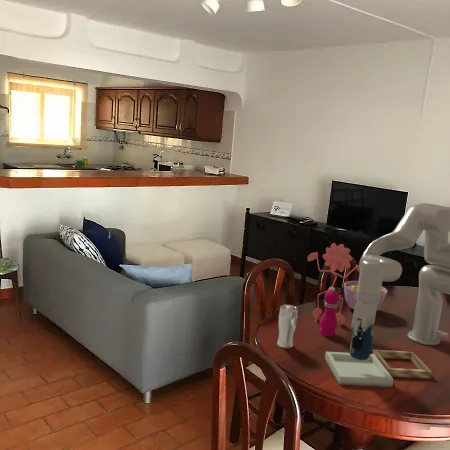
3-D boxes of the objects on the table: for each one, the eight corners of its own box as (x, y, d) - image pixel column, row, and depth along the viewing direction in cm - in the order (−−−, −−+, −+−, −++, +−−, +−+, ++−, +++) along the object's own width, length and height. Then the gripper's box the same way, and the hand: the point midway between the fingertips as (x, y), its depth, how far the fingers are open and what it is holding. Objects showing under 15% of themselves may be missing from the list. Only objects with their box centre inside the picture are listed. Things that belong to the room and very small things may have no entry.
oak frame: (411, 357, 183) (412, 351, 182) (430, 378, 168) (431, 371, 167) (371, 355, 182) (372, 349, 181) (387, 376, 166) (388, 369, 166)
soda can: (373, 358, 166) (378, 325, 164) (362, 363, 161) (368, 329, 159) (355, 350, 171) (360, 318, 169) (344, 355, 166) (349, 322, 164)
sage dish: (372, 361, 177) (374, 354, 176) (392, 386, 159) (393, 379, 159) (324, 358, 176) (325, 351, 175) (338, 384, 158) (340, 376, 157)
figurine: (356, 333, 202) (367, 251, 196) (296, 319, 212) (306, 241, 206) (361, 322, 215) (372, 245, 210) (305, 309, 226) (314, 236, 220)
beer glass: (295, 343, 187) (299, 306, 184) (292, 350, 180) (296, 312, 177) (278, 339, 189) (282, 303, 186) (273, 346, 182) (278, 308, 180)
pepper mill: (336, 338, 194) (342, 291, 191) (318, 335, 196) (324, 288, 192) (335, 331, 201) (342, 286, 198) (318, 329, 203) (324, 283, 199)
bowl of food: (388, 310, 233) (392, 287, 231) (377, 322, 216) (381, 297, 214) (348, 300, 243) (351, 278, 241) (334, 310, 227) (337, 287, 224)
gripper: (366, 288, 171) (359, 335, 175) (347, 299, 157) (340, 349, 161) (387, 293, 167) (380, 341, 170) (369, 305, 153) (361, 357, 156)
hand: (360, 345), depth 165 cm, fingers closed on soda can, 7 cm apart
